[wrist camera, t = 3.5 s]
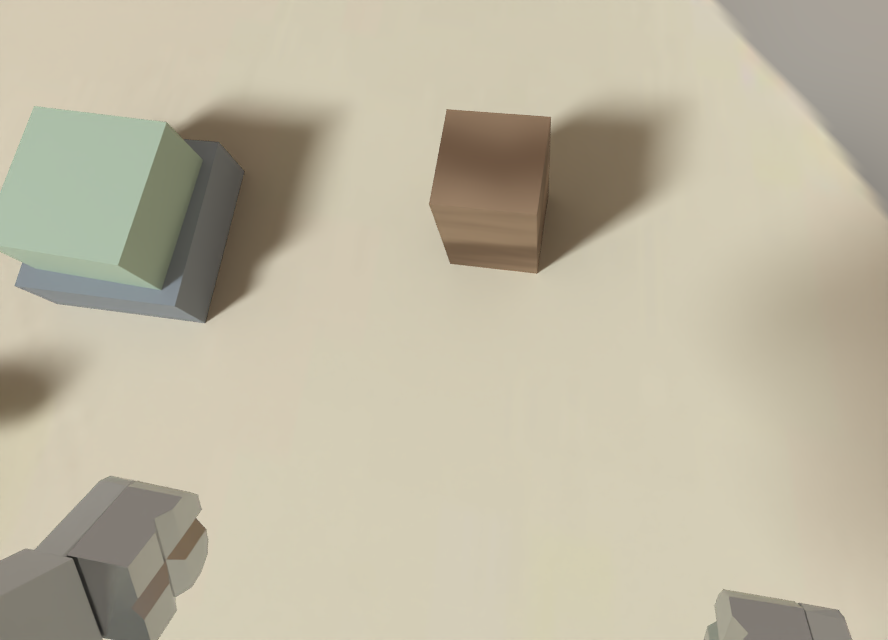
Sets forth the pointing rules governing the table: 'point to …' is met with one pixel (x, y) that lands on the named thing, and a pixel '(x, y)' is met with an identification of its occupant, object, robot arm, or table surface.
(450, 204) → the walnut block
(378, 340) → the table surface
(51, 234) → the tower top
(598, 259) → the table surface
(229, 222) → the tower base
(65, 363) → the table surface
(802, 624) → the robot arm
